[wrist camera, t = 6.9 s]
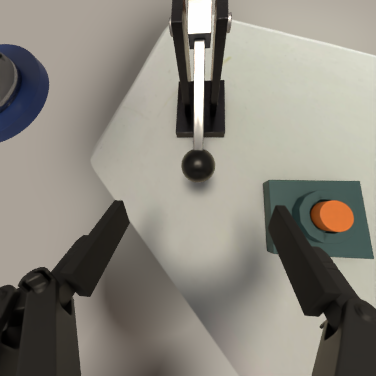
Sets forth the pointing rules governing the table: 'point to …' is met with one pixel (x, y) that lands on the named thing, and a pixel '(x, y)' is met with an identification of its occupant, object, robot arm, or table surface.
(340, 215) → the button
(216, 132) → the bracket
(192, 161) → the lever
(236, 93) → the table surface
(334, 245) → the button block
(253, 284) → the table surface
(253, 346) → the table surface
